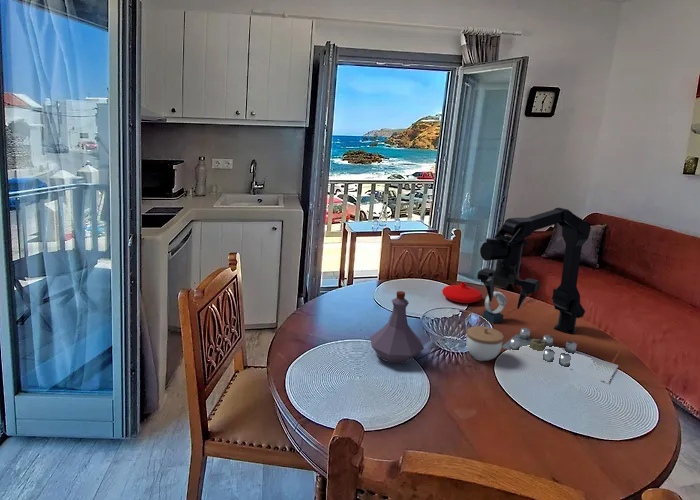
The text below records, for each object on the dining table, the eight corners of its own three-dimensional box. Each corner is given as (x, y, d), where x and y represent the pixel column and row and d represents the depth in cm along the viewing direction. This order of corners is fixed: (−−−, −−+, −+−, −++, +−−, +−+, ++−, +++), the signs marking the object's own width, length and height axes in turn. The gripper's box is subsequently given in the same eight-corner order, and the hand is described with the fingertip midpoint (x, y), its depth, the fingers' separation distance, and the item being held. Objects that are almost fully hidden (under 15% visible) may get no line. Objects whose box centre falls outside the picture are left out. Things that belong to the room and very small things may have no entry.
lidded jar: (480, 368, 140) (484, 338, 138) (456, 352, 150) (460, 323, 147) (508, 361, 145) (512, 332, 143) (483, 346, 154) (487, 319, 152)
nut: (532, 344, 157) (534, 337, 156) (546, 348, 155) (547, 341, 154) (527, 349, 153) (529, 341, 153) (541, 353, 151) (542, 346, 150)
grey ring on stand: (506, 322, 175) (510, 293, 172) (488, 325, 172) (493, 295, 169) (496, 316, 180) (500, 288, 177) (478, 319, 177) (482, 290, 174)
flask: (427, 350, 150) (434, 288, 144) (416, 374, 134) (423, 306, 129) (376, 340, 155) (381, 280, 150) (360, 362, 139) (364, 296, 134)
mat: (516, 335, 165) (516, 333, 165) (618, 366, 146) (618, 365, 146) (500, 348, 154) (501, 347, 154) (608, 383, 136) (608, 382, 136)
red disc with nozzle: (441, 304, 189) (443, 287, 188) (441, 291, 204) (442, 275, 203) (483, 309, 187) (485, 291, 185) (479, 295, 202) (481, 279, 200)
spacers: (521, 335, 164) (522, 327, 163) (579, 353, 153) (581, 344, 152) (505, 348, 153) (507, 339, 152) (567, 368, 142) (569, 359, 141)
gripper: (472, 257, 153) (466, 303, 157) (532, 270, 143) (524, 320, 147) (486, 251, 162) (481, 295, 166) (544, 263, 151) (536, 310, 155)
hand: (504, 304), depth 158 cm, fingers open, 9 cm apart
